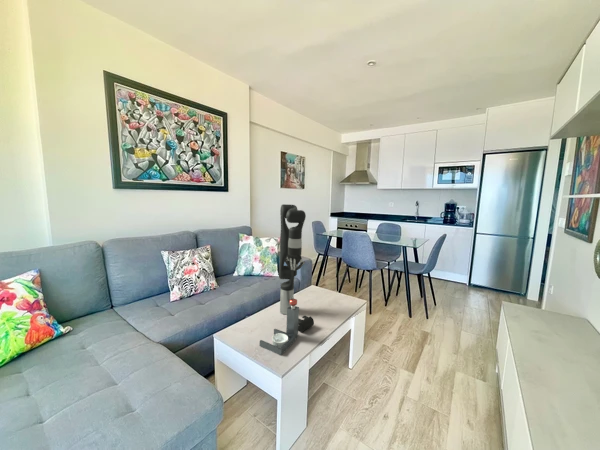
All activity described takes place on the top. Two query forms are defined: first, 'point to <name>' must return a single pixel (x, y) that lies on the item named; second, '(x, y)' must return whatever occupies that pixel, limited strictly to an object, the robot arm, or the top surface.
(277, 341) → the ramekin
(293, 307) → the ram plunger
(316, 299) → the top surface
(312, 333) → the top surface
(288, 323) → the press
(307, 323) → the end cap
